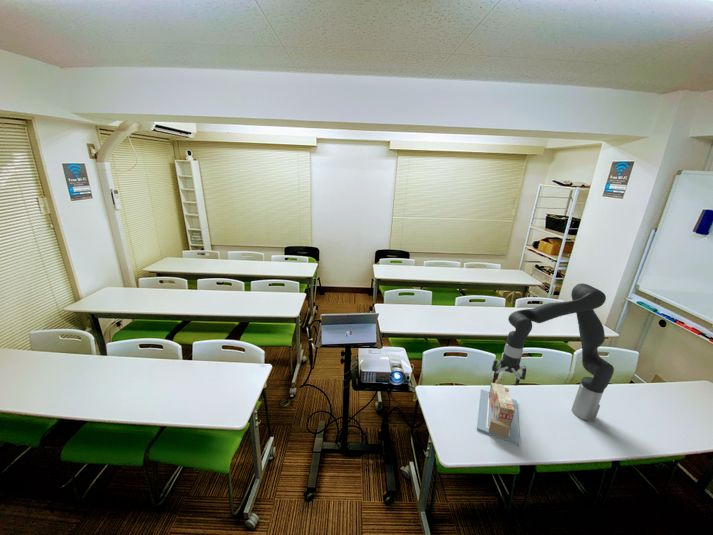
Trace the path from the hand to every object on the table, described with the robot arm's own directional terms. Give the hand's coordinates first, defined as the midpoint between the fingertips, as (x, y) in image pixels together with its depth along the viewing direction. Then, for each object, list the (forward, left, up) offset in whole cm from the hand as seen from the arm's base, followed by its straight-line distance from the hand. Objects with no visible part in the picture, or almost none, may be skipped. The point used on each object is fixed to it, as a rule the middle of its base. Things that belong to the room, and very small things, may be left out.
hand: (505, 381), depth 141 cm
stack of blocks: (0, -1, -20) cm, 20 cm away
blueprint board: (0, 0, -21) cm, 21 cm away
